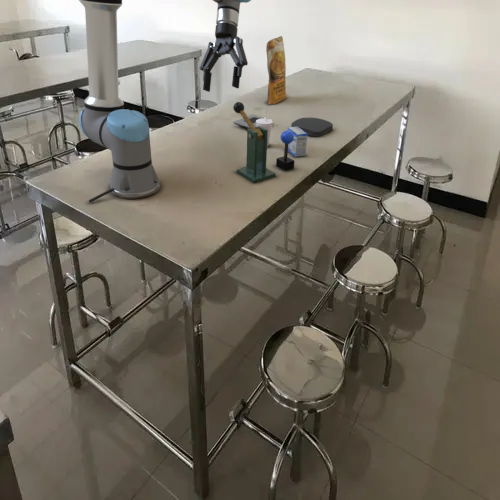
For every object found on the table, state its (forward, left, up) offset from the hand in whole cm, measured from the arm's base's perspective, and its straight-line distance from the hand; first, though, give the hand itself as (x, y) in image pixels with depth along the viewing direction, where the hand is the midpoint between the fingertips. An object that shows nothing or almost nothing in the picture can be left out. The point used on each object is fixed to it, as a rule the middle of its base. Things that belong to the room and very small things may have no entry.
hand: (220, 89), depth 167 cm
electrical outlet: (+27, +16, -23) cm, 39 cm away
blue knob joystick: (+11, -24, -23) cm, 35 cm away
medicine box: (+23, -16, -23) cm, 36 cm away
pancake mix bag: (+58, +39, -23) cm, 74 cm away
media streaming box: (+45, -1, -23) cm, 50 cm away
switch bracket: (-1, -23, -23) cm, 32 cm away
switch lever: (-1, -17, -7) cm, 18 cm away
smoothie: (+17, -4, -23) cm, 29 cm away
